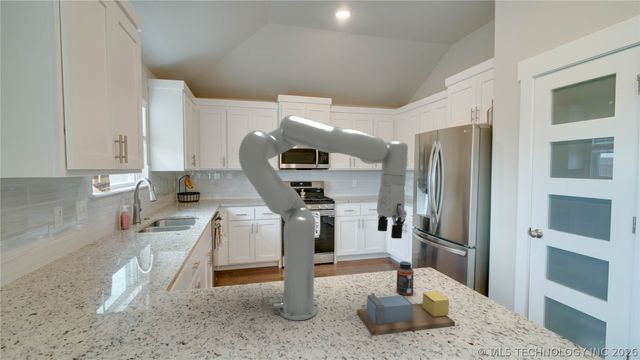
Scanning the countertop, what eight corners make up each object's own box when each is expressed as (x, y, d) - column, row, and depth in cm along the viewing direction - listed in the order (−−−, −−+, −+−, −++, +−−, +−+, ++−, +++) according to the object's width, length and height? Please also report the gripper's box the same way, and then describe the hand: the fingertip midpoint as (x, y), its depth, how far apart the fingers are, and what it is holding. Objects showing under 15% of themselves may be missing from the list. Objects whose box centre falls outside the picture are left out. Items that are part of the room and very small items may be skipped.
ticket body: (375, 325, 76) (376, 306, 76) (365, 312, 84) (365, 294, 84) (413, 321, 79) (414, 302, 79) (400, 308, 86) (401, 291, 86)
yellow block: (433, 316, 81) (434, 301, 81) (422, 307, 87) (422, 292, 87) (448, 315, 83) (448, 299, 82) (436, 306, 88) (436, 291, 88)
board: (372, 335, 74) (372, 331, 74) (356, 313, 86) (357, 309, 86) (454, 325, 80) (454, 321, 79) (429, 306, 91) (429, 302, 91)
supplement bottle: (414, 297, 98) (415, 266, 98) (397, 295, 99) (397, 264, 99) (411, 290, 104) (412, 260, 103) (395, 288, 105) (396, 259, 105)
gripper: (371, 179, 93) (367, 228, 94) (395, 181, 76) (390, 241, 77) (391, 180, 95) (387, 228, 95) (419, 183, 78) (414, 241, 78)
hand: (388, 234), depth 86 cm, fingers open, 9 cm apart
